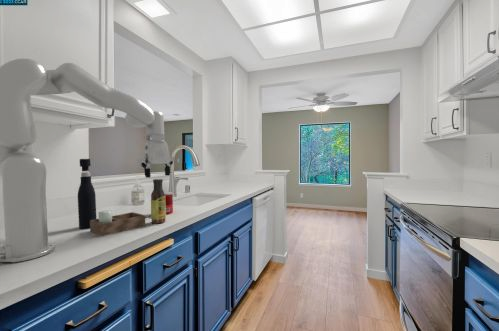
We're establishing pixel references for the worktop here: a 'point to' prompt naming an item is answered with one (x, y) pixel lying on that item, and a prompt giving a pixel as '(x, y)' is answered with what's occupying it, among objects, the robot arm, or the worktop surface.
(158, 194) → the sauce bottle
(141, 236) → the worktop surface
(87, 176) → the black water bottle
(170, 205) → the canned food
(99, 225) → the walnut caddy
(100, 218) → the pale green rounded block
